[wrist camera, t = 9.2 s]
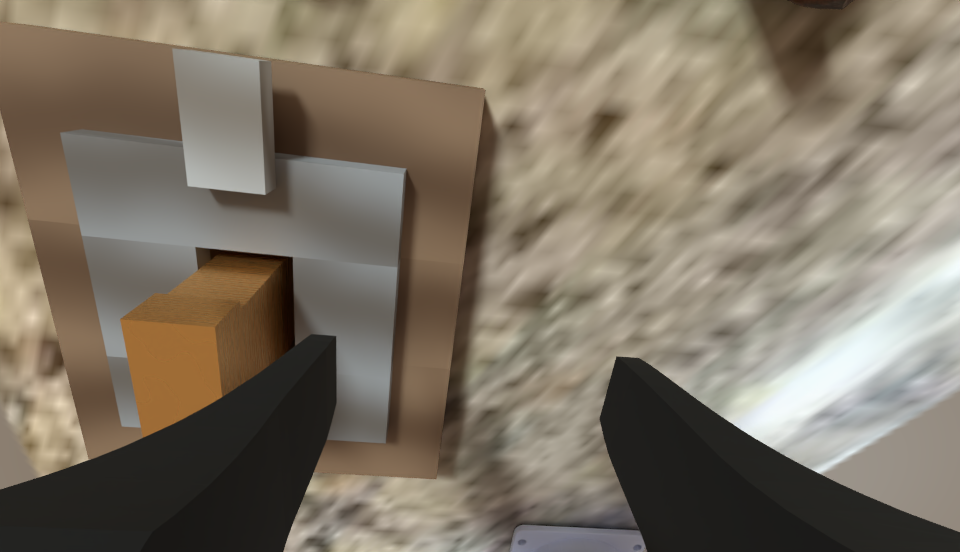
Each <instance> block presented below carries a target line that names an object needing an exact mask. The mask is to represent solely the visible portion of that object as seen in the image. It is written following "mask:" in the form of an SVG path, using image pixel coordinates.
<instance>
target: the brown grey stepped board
mask: <svg viewBox="0 0 960 552" xmlns="http://www.w3.org/2000/svg"><path fill="white" fill-rule="evenodd" d="M485 91H486V90H484V89H483V88H476V87H469V86H462V85H455V84H447V83H440V82H433V81H426V80H419V79H412V78H405V77H397V76H390V75H383V74H376V73H369V72H362V71H355V70H348V69H340V68H333V67H326V66H319V65H312V64H305V63H298V62H290V61H283V60H276V59H269V58H262V57H255V56H248V55H241V54H233V53H226V52H219V51H212V50H205V49H198V48H191V47H183V46H176V45H169V44H162V43H155V42H148V41H141V40H134V39H126V38H119V37H112V36H105V35H98V34H91V33H84V32H76V31H69V30H62V29H55V28H48V27H41V26H34V25H25V24H16V23H7V22H0V111H1V115H2V119H3V123H4V127H5V131H6V135H7V139H8V142H9V146H10V150H11V154H12V158H13V162H14V166H15V170H16V174H17V178H18V182H19V186H20V190H21V194H22V198H23V202H24V206H25V210H26V213H27V217H28V221H29V225H30V229H31V233H32V237H33V241H34V245H35V249H36V253H37V257H38V261H39V265H40V269H41V273H42V277H43V281H44V284H45V288H46V292H47V296H48V300H49V304H50V308H51V312H52V316H53V320H54V324H55V328H56V332H57V336H58V340H59V344H60V348H61V352H62V355H63V359H64V363H65V367H66V371H67V375H68V379H69V383H70V387H71V391H72V395H73V399H74V403H75V407H76V411H77V415H78V419H79V423H80V426H81V430H82V434H83V438H84V442H85V446H86V450H87V454H88V458H89V459H93V458H96V457H98V456H101V455H103V454H106V453H108V452H111V451H114V450H116V449H119V448H121V447H123V446H126V445H128V444H130V443H132V442H135V441H137V440H139V439H141V438H143V436H142V431H141V426H140V420H139V415H138V410H137V405H136V400H135V394H134V389H133V384H132V379H131V374H130V368H129V363H128V358H127V353H126V348H125V342H124V337H123V332H122V327H121V322H120V319H121V318H122V317H124V316H125V315H126V314H128V313H129V312H130V311H132V310H133V309H134V308H136V307H137V306H138V305H140V304H141V303H143V302H144V301H145V300H147V299H148V298H149V297H151V296H152V295H153V294H155V293H160V294H168V293H169V292H170V291H172V290H173V289H174V288H175V287H177V286H178V285H179V284H181V283H182V282H183V281H184V280H186V279H187V278H188V277H190V276H191V275H192V274H193V273H195V272H196V271H197V270H199V269H200V268H201V267H202V266H204V265H205V264H206V263H208V262H209V261H210V260H211V259H213V258H214V257H215V256H217V255H218V254H219V253H220V252H222V251H223V250H230V251H240V252H250V253H259V254H269V255H279V256H289V257H293V282H294V321H295V338H294V340H293V341H292V343H291V345H290V346H289V348H288V350H287V351H286V353H287V352H288V351H289V350H291V349H292V348H293V347H295V346H296V345H297V344H299V343H300V342H301V341H302V340H304V339H305V338H306V337H308V336H309V335H311V334H318V335H331V336H336V366H337V403H336V407H335V411H334V415H333V419H332V423H331V427H330V430H329V434H328V437H327V440H326V443H325V446H324V448H323V451H322V453H321V456H320V458H319V460H318V463H317V465H316V468H315V470H314V472H320V473H338V474H355V475H372V476H389V477H407V478H424V479H436V478H437V470H438V462H439V454H440V446H441V438H442V431H443V423H444V415H445V407H446V399H447V391H448V383H449V375H450V367H451V359H452V352H453V344H454V336H455V328H456V320H457V312H458V304H459V296H460V288H461V280H462V273H463V265H464V257H465V249H466V241H467V233H468V225H469V217H470V209H471V201H472V194H473V186H474V178H475V170H476V162H477V154H478V146H479V138H480V130H481V122H482V115H483V107H484V99H485Z"/></svg>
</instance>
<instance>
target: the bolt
mask: <svg viewBox="0 0 960 552" xmlns="http://www.w3.org/2000/svg"><path fill="white" fill-rule="evenodd" d="M788 1H790V2H792V3H794V4H797V5H800V6H804V7H810V8H817V9H843V8H844V7H846V6H847V5H848V4H850V3H851V2H852V1H853V0H788Z"/></svg>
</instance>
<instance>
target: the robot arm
mask: <svg viewBox="0 0 960 552" xmlns="http://www.w3.org/2000/svg"><path fill="white" fill-rule="evenodd" d="M336 403H337V366H336V336H331V335H318V334H311V335H309V336H308V337H306V338H305V339H304V340H302V341H301V342H300V343H299V344H297V345H296V346H295V347H293V348H292V349H291V350H289V351H288V352H287V353H285V354H284V355H283V356H281V357H280V358H279V359H277V360H276V361H275V362H273V363H272V364H271V365H269V366H268V367H266V368H265V369H264V370H262V371H261V372H260V373H258V374H257V375H255V376H254V377H252V378H251V379H249V380H248V381H246V382H245V383H243V384H241V385H240V386H238V387H237V388H235V389H234V390H232V391H231V392H229V393H228V394H226V395H225V396H223V397H221V398H220V399H218V400H216V401H215V402H213V403H211V404H209V405H208V406H206V407H204V408H202V409H201V410H199V411H197V412H195V413H193V414H191V415H189V416H188V417H186V418H184V419H182V420H180V421H178V422H176V423H174V424H172V425H170V426H168V427H165V428H163V429H161V430H159V431H157V432H154V433H152V434H150V435H148V436H146V437H143V438H141V439H139V440H137V441H135V442H132V443H130V444H128V445H126V446H123V447H121V448H119V449H116V450H114V451H111V452H108V453H106V454H103V455H101V456H98V457H96V458H93V459H91V460H88V461H85V462H82V463H80V464H77V465H74V466H71V467H69V468H66V469H63V470H60V471H57V472H54V473H51V474H49V475H46V476H42V477H39V478H36V479H33V480H30V481H27V482H23V483H20V484H17V485H14V486H11V487H7V488H4V489H1V490H0V552H283V550H284V547H285V544H286V541H287V538H288V535H289V532H290V530H291V527H292V524H293V521H294V519H295V517H296V514H297V512H298V509H299V507H300V504H301V502H302V500H303V497H304V495H305V492H306V490H307V487H308V485H309V482H310V480H311V478H312V475H313V473H314V470H315V468H316V465H317V463H318V460H319V458H320V456H321V453H322V451H323V448H324V446H325V443H326V440H327V437H328V434H329V430H330V427H331V423H332V419H333V415H334V411H335V407H336ZM600 422H601V427H602V431H603V435H604V439H605V443H606V447H607V450H608V454H609V457H610V459H611V462H612V464H613V467H614V469H615V472H616V474H617V477H618V479H619V482H620V484H621V487H622V489H623V491H624V494H625V496H626V499H627V501H628V504H629V506H630V508H631V511H632V513H633V516H634V518H635V521H636V523H637V525H638V528H639V530H640V531H639V530H619V529H599V528H579V527H559V526H538V525H520V526H518V527H516V528H515V530H514V534H513V538H512V543H511V547H510V551H509V552H643V551H644V549H645V546H646V549H647V552H960V532H957V531H955V530H952V529H949V528H947V527H944V526H941V525H938V524H936V523H933V522H930V521H927V520H925V519H922V518H919V517H917V516H914V515H911V514H909V513H906V512H904V511H901V510H898V509H896V508H894V507H891V506H889V505H887V504H884V503H882V502H880V501H877V500H875V499H873V498H870V497H868V496H865V495H863V494H861V493H859V492H856V491H854V490H852V489H850V488H847V487H845V486H843V485H841V484H839V483H837V482H835V481H833V480H831V479H829V478H827V477H825V476H823V475H821V474H819V473H817V472H815V471H813V470H811V469H809V468H807V467H805V466H803V465H801V464H799V463H797V462H795V461H793V460H791V459H790V458H788V457H786V456H784V455H782V454H781V453H779V452H777V451H775V450H774V449H772V448H770V447H769V446H767V445H765V444H763V443H762V442H760V441H758V440H756V439H755V438H753V437H752V436H750V435H748V434H747V433H745V432H744V431H742V430H741V429H739V428H738V427H736V426H735V425H733V424H732V423H730V422H728V421H727V420H725V419H724V418H722V417H721V416H719V415H718V414H717V413H715V412H714V411H712V410H711V409H709V408H708V407H707V406H705V405H704V404H702V403H701V402H700V401H698V400H697V399H696V398H694V397H693V396H691V395H690V394H689V393H687V392H686V391H685V390H683V389H682V388H681V387H679V386H678V385H677V384H675V383H674V382H673V381H671V380H670V379H669V378H667V377H666V376H665V375H663V374H662V373H660V372H659V371H658V370H656V369H655V368H653V367H652V366H651V365H649V364H648V363H646V362H645V361H643V360H641V359H640V358H630V357H616V360H615V364H614V368H613V371H612V375H611V379H610V383H609V386H608V390H607V394H606V397H605V401H604V405H603V409H602V412H601V416H600Z"/></svg>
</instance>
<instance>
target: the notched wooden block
mask: <svg viewBox="0 0 960 552" xmlns="http://www.w3.org/2000/svg"><path fill="white" fill-rule="evenodd" d="M120 322H121V327H122V332H123V337H124V342H125V348H126V353H127V358H128V363H129V368H130V374H131V379H132V384H133V389H134V394H135V400H136V405H137V410H138V415H139V420H140V426H141V431H142V436H143V437H146V436H148V435H150V434H152V433H154V432H157V431H159V430H161V429H163V428H165V427H168V426H170V425H172V424H174V423H176V422H178V421H180V420H182V419H184V418H186V417H188V416H189V415H191V414H193V413H195V412H197V411H199V410H201V409H202V408H204V407H206V406H208V405H209V404H211V403H213V402H215V401H216V400H218V399H220V398H221V397H223V396H225V395H226V394H228V393H229V392H231V391H232V390H234V389H235V388H237V387H238V386H240V385H241V384H243V383H245V382H246V381H248V380H249V379H251V378H252V377H254V376H255V375H257V374H258V373H260V372H261V371H262V370H264V369H265V368H266V367H268V366H269V365H271V364H272V363H273V362H275V361H276V360H277V359H279V358H280V357H281V356H283V355H284V354H285V353H286V351H287V350H288V348H289V346H290V345H291V343H292V341H293V340H294V338H295V321H294V282H293V257H289V256H279V255H269V254H259V253H250V252H240V251H230V250H223V251H222V252H220V253H219V254H218V255H217V256H215V257H214V258H213V259H211V260H210V261H209V262H208V263H206V264H205V265H204V266H202V267H201V268H200V269H199V270H197V271H196V272H195V273H193V274H192V275H191V276H190V277H188V278H187V279H186V280H184V281H183V282H182V283H181V284H179V285H178V286H177V287H175V288H174V289H173V290H172V291H170V292H169V293H168V294H160V293H155V294H153V295H152V296H151V297H149V298H148V299H147V300H145V301H144V302H143V303H141V304H140V305H138V306H137V307H136V308H134V309H133V310H132V311H130V312H129V313H128V314H126V315H125V316H124V317H122V318H121V319H120Z"/></svg>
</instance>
